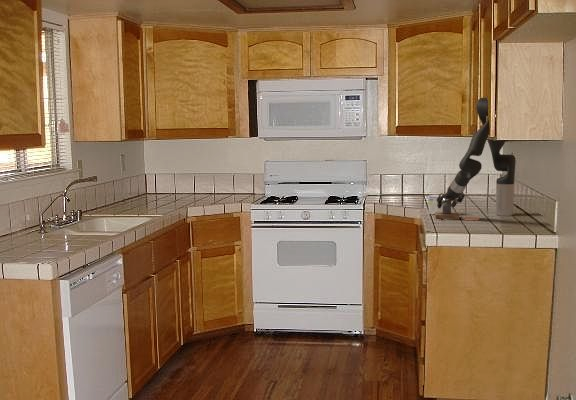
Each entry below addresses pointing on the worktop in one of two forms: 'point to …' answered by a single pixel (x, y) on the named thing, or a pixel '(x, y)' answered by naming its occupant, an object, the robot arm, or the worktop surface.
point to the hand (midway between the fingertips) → (445, 206)
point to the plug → (447, 207)
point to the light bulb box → (434, 204)
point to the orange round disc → (470, 218)
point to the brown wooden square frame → (447, 216)
